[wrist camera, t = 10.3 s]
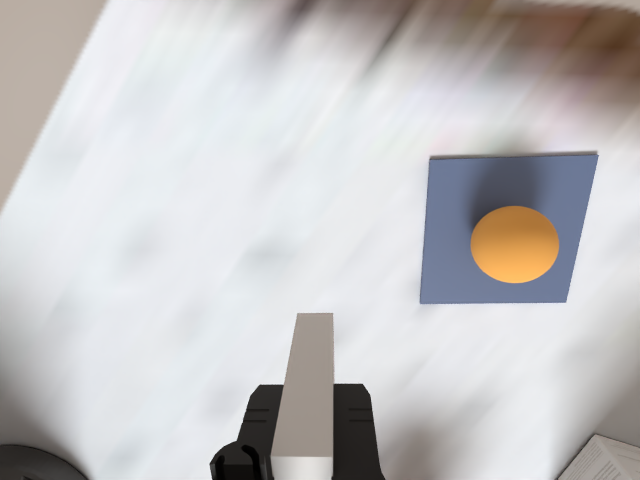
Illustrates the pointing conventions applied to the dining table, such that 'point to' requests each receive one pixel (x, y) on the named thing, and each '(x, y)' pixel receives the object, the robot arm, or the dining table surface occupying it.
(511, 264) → the ball
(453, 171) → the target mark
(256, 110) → the dining table surface
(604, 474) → the supplement box
